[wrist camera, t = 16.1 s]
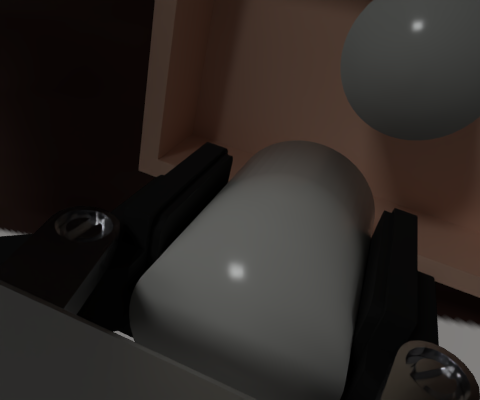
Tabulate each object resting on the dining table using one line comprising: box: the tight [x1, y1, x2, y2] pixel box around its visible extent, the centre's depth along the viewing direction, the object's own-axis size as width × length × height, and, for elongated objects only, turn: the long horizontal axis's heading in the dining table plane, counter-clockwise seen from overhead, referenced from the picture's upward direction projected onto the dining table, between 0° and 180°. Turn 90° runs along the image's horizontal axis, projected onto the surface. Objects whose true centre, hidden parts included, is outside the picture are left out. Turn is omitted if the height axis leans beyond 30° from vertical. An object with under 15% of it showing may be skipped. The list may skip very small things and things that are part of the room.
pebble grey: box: [129, 140, 375, 400], centre depth 10 cm, size 4×4×6 cm
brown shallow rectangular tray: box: [139, 0, 480, 298], centre depth 16 cm, size 12×16×4 cm
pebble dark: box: [340, 0, 480, 140], centre depth 13 cm, size 4×4×6 cm
